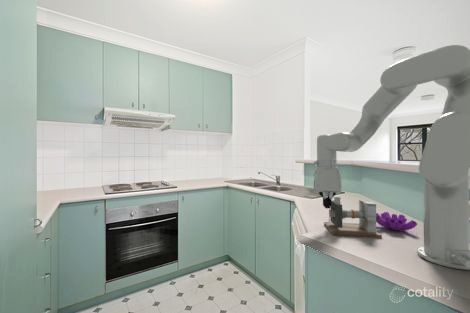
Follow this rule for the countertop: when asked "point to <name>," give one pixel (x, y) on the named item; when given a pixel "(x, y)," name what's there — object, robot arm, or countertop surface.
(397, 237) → the countertop surface
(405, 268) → the countertop surface
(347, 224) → the pipe stand
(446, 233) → the robot arm
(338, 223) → the dark grey square panel
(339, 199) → the flask
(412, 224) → the purple lumpy piece
